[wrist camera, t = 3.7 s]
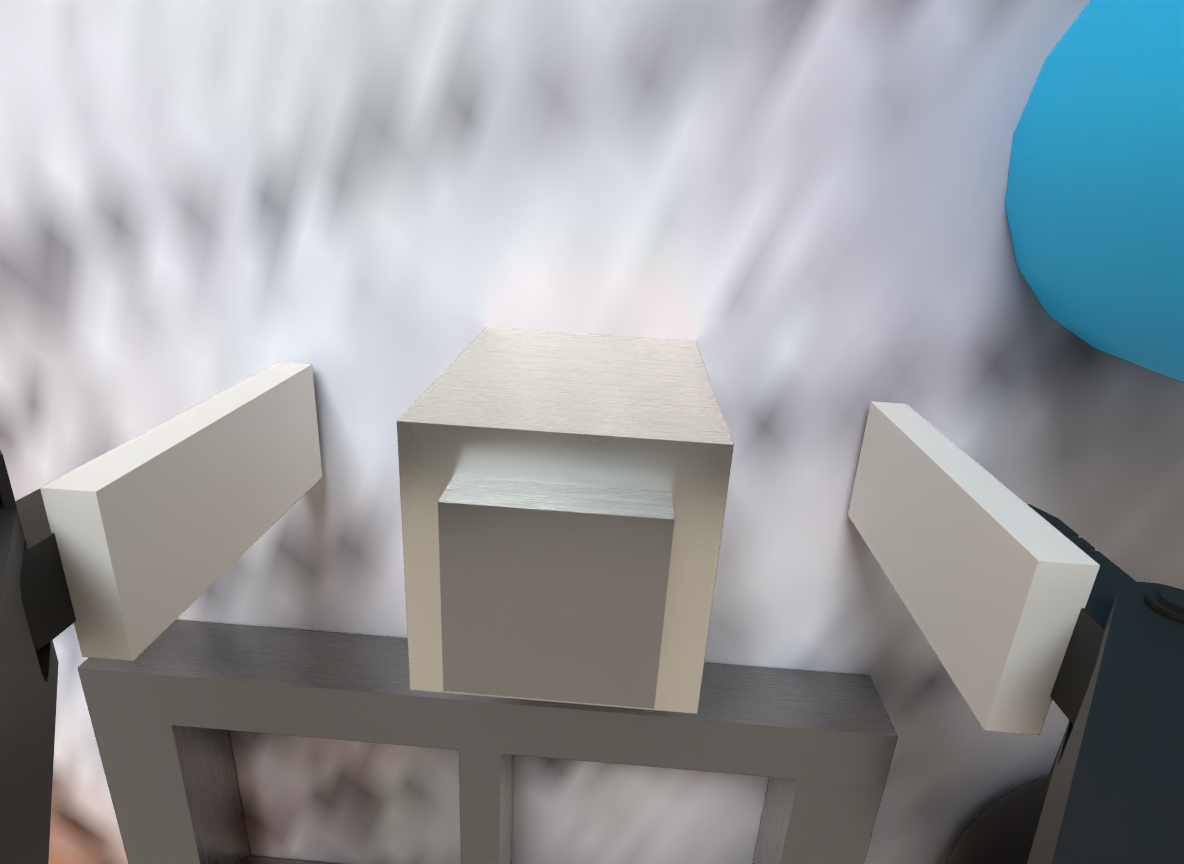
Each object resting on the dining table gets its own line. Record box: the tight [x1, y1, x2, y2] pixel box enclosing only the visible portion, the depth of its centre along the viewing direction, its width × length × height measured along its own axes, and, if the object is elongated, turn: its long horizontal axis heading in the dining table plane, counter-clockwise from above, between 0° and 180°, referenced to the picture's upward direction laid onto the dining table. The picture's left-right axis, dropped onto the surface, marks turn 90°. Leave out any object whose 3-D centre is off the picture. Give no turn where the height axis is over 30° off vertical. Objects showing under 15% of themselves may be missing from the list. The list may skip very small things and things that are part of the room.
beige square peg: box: [397, 327, 734, 714], centre depth 12 cm, size 4×4×7 cm
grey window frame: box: [78, 620, 898, 864], centre depth 19 cm, size 10×19×2 cm, turn 87°
